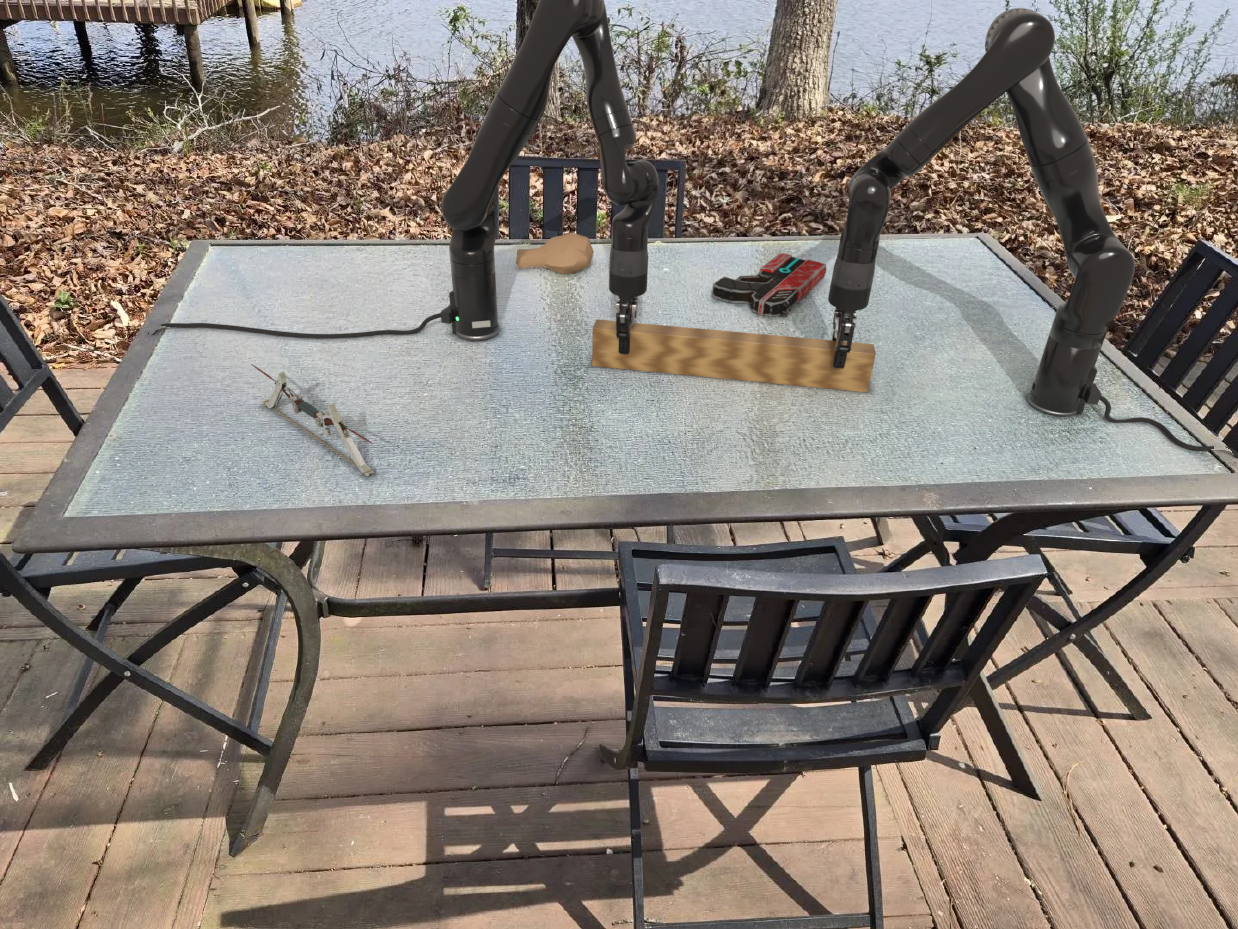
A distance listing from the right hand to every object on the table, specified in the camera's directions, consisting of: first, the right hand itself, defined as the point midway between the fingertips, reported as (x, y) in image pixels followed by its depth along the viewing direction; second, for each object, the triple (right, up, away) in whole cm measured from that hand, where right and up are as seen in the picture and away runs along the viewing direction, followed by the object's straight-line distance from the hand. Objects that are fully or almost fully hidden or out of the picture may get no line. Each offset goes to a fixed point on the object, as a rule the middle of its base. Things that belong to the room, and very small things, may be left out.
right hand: (837, 357), depth 174 cm
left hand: (-42, +3, +6) cm, 42 cm away
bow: (-97, -17, -19) cm, 100 cm away
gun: (-6, +22, +43) cm, 48 cm away
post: (-21, -3, +6) cm, 22 cm away
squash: (-60, +29, +51) cm, 84 cm away
